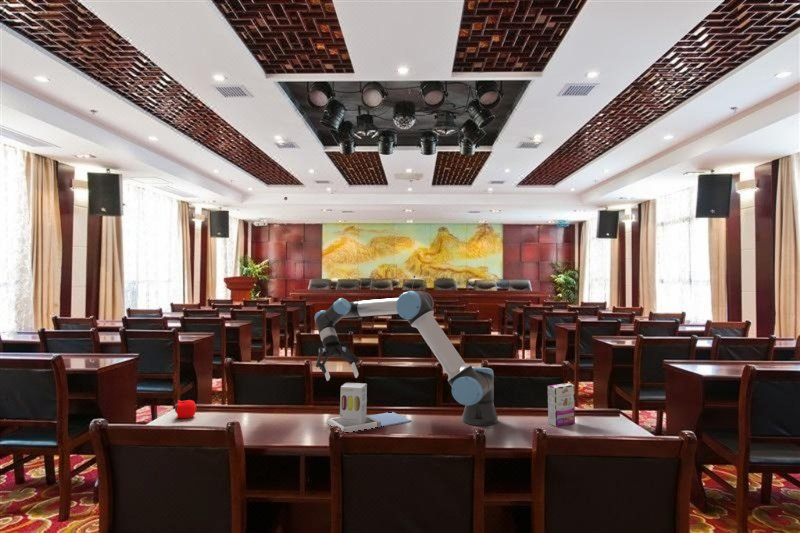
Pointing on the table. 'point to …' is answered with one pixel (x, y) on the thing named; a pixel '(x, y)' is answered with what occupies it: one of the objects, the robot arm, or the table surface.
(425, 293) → the robot arm
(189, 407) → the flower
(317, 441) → the table surface
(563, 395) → the candy bar box
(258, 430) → the table surface
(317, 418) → the table surface
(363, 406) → the supplement box
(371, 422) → the bay rack
